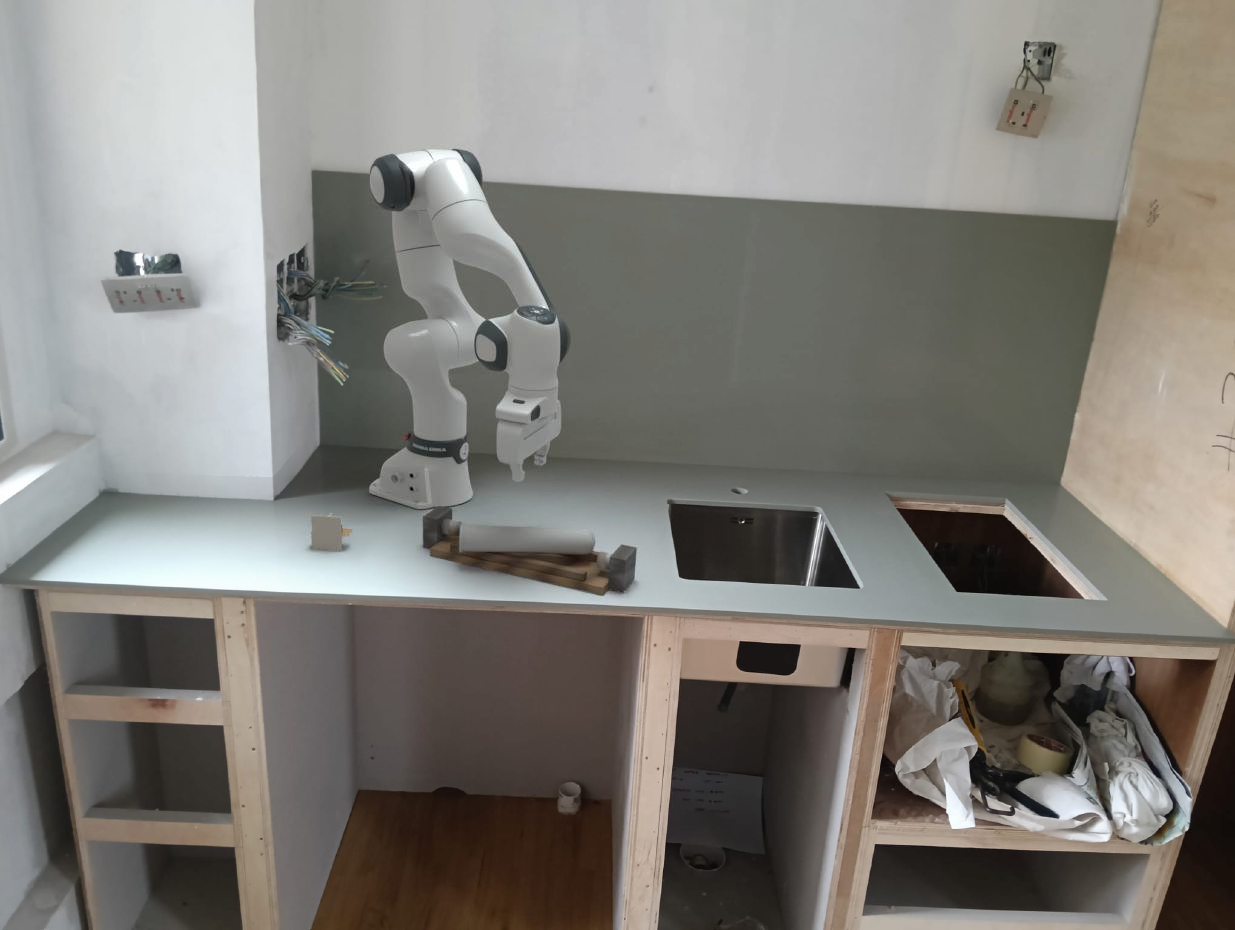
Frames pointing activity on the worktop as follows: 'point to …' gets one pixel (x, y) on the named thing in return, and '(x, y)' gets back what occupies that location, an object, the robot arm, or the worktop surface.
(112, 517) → the worktop surface
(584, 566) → the shaft bed
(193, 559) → the worktop surface
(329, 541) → the architectural model
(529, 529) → the tube
